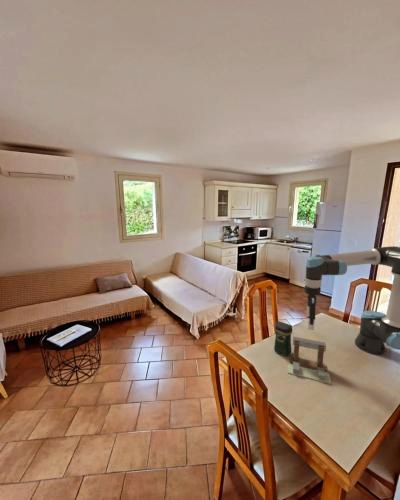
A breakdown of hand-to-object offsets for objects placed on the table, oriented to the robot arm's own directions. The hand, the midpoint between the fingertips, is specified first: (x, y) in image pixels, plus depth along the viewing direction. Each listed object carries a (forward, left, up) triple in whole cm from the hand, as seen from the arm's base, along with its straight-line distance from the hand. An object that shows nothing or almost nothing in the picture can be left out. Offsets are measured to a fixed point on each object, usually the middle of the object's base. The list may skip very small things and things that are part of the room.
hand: (309, 323), depth 120 cm
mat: (0, +8, -25) cm, 26 cm away
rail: (0, 0, -14) cm, 14 cm away
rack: (0, 0, -25) cm, 25 cm away
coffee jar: (+13, -7, -25) cm, 29 cm away
